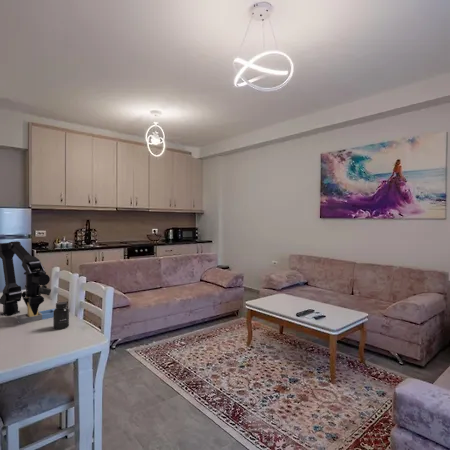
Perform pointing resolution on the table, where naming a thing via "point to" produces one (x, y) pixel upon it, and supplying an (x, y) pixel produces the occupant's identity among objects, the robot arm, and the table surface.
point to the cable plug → (30, 311)
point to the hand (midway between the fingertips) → (32, 312)
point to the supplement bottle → (61, 316)
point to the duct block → (40, 316)
